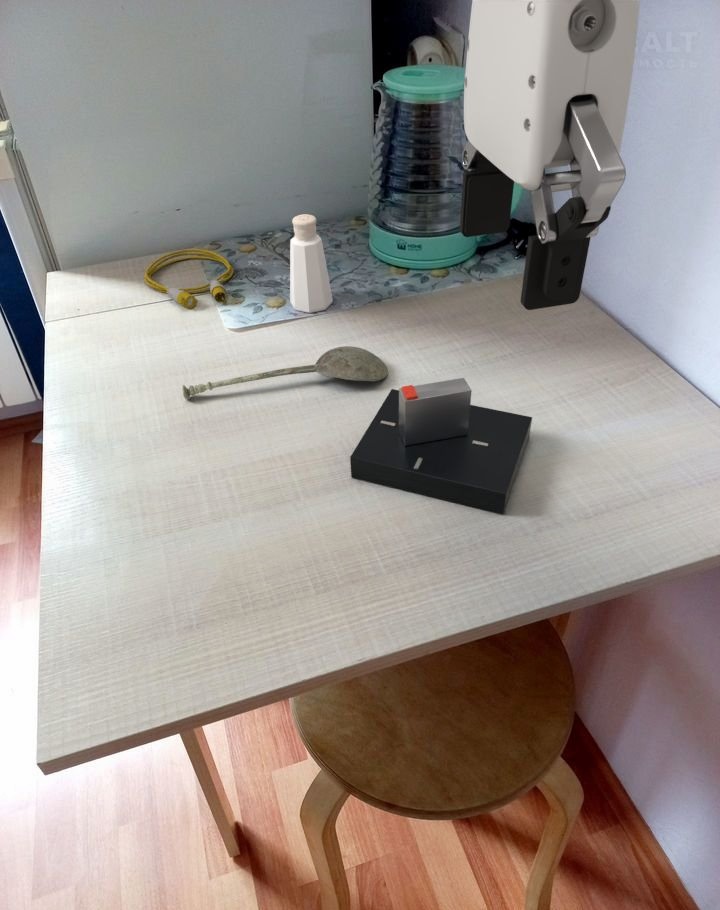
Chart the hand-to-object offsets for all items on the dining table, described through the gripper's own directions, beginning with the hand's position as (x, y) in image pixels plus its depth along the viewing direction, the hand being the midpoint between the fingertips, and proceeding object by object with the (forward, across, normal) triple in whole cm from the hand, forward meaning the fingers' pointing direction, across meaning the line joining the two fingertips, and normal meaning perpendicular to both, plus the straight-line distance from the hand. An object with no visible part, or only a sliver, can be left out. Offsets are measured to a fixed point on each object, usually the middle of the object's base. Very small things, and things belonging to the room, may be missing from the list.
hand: (513, 265), depth 42 cm
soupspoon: (+24, +27, +12) cm, 38 cm away
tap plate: (+24, +11, 0) cm, 27 cm away
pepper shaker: (+24, +43, +6) cm, 50 cm away
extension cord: (+24, +54, +21) cm, 63 cm away
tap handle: (+22, +11, +1) cm, 25 cm away
